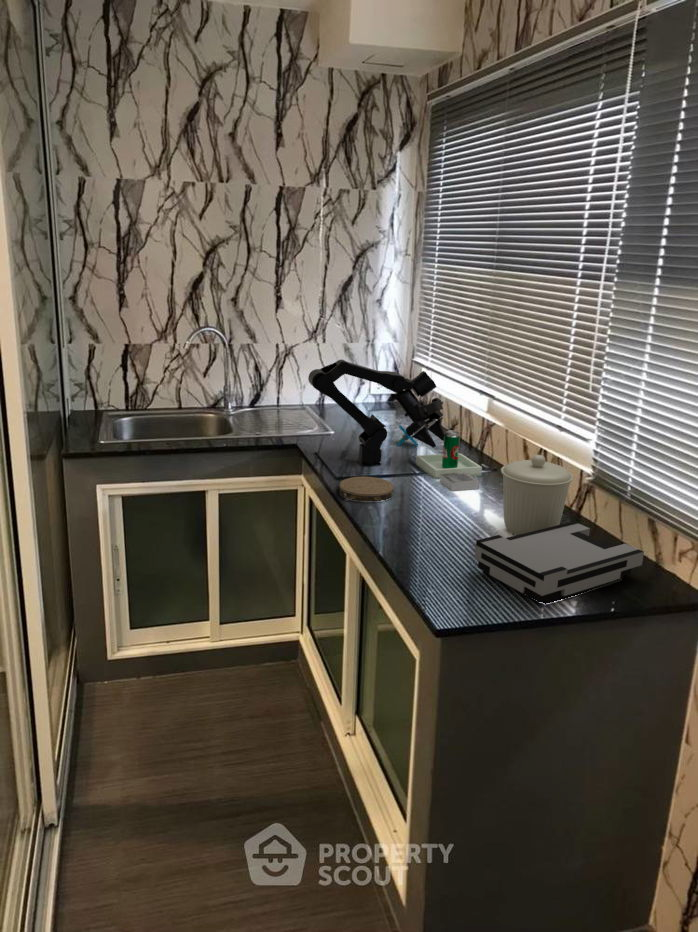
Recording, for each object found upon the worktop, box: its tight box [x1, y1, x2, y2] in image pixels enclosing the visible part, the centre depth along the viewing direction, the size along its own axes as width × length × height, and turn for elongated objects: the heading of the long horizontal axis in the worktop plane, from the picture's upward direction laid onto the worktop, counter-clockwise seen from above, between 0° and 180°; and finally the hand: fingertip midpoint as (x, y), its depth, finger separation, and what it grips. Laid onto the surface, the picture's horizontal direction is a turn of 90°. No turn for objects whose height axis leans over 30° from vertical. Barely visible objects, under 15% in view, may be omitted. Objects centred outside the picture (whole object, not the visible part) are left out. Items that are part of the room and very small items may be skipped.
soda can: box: [442, 430, 461, 469], centre depth 247 cm, size 5×5×12 cm
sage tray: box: [415, 452, 483, 480], centre depth 249 cm, size 16×16×3 cm
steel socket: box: [439, 472, 480, 492], centre depth 234 cm, size 9×9×2 cm
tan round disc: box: [338, 476, 395, 501], centre depth 224 cm, size 16×16×3 cm
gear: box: [397, 424, 419, 447], centre depth 275 cm, size 11×6×10 cm
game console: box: [474, 520, 645, 604], centre depth 174 cm, size 21×32×8 cm, turn 122°
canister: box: [500, 454, 575, 536], centre depth 197 cm, size 18×18×21 cm
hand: (440, 443), depth 248 cm, fingers open, 9 cm apart
